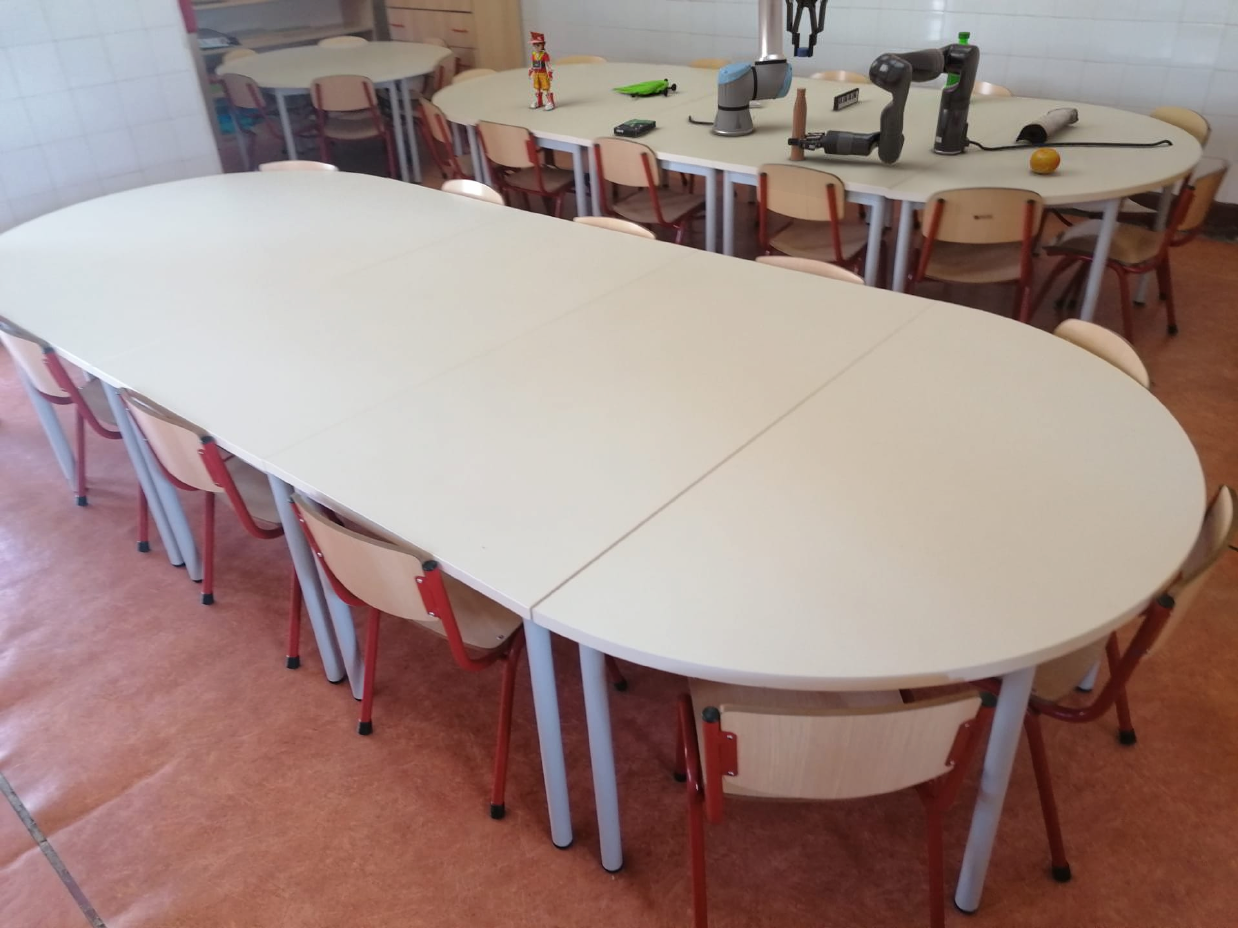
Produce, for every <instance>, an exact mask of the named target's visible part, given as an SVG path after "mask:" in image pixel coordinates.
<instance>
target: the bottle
mask: <svg viewBox="0 0 1238 928" xmlns="http://www.w3.org/2000/svg"><path fill="white" fill-rule="evenodd" d="M806 93H807V88H806V87H802V86H801V87H796V96H795V100H794V104H793V108H792V109H793V111H792V126H791V127H792V129H791V138H798V139H800V138H801V139H805V134H807V133H806V131H807V117H808V116H807V115H808V103H807V97H806V95H807V94H806ZM803 145H805V143H803ZM790 146H791V147H790V160H791V161H797V162H798V161H803V160H805V149H800V148H799V146H793V145H790Z"/></svg>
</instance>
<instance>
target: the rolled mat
mask: <svg viewBox="0 0 1238 928" xmlns="http://www.w3.org/2000/svg"><path fill="white" fill-rule="evenodd" d="M1079 120H1080V119H1079V111H1078V109H1077V108H1075V107H1073V108H1072V107H1059V108H1054V109H1049V111H1048V112H1046V114H1045V115H1042V116H1040V117H1039V118H1037V119H1035V120H1033V121H1031V122H1029V123H1028V124H1026V125H1023V127H1022V128H1021V130H1020V131H1019V134H1018V135H1017V137H1016V138H1015V141H1014V142H1015V143H1018V142H1020V141H1026V142H1028V144H1039V143H1047V141H1049V140H1050V139H1051V138H1052V136H1054V135H1055V134H1056V133H1057V132H1058V131H1059V130H1061V129H1063V127H1065V126H1069V125H1074V124H1077V122H1079Z"/></svg>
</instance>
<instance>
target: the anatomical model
mask: <svg viewBox="0 0 1238 928" xmlns="http://www.w3.org/2000/svg"><path fill="white" fill-rule="evenodd" d="M762 105H763V104H762V102H758V101H757V100H755V101H750V102H749V109H750V108H751V107H761V106H762Z"/></svg>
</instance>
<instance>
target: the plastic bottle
mask: <svg viewBox="0 0 1238 928" xmlns="http://www.w3.org/2000/svg"><path fill="white" fill-rule="evenodd" d="M970 36H971V32H970V31H959V32H958V36H957V39H958V43H959V44H969V45H971V44H970V43H969V42H968V41H969V39H970V38H971V37H970ZM946 77H947V78H946V84H945V85H944V87H943V88H945V87H947V86H950V85H954V84H957V83H958V82H959V79H960V76H958V75H950V74H947V76H946Z"/></svg>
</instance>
